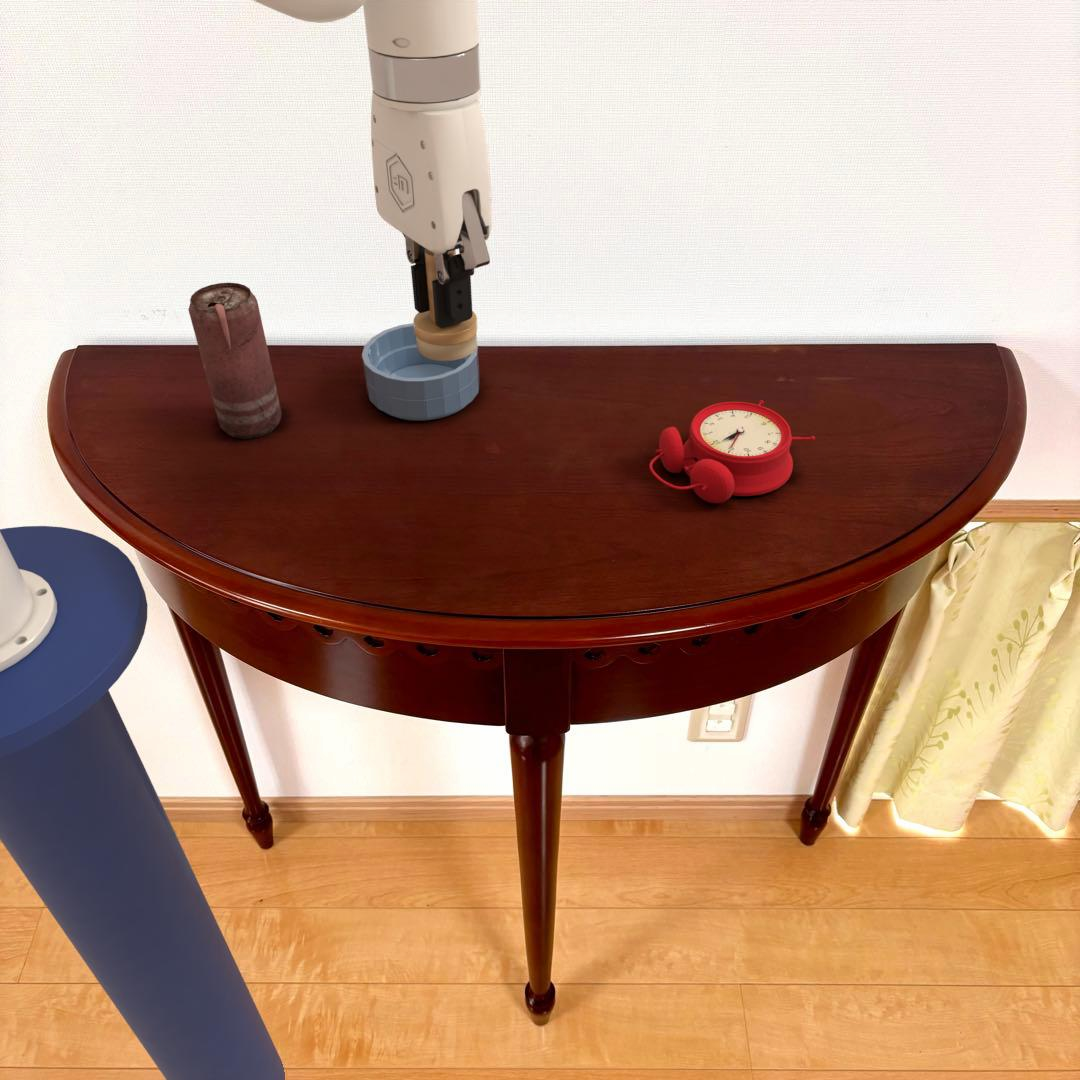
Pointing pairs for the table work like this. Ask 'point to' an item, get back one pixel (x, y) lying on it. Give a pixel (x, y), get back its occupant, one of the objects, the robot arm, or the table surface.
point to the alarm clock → (730, 451)
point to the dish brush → (448, 340)
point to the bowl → (416, 377)
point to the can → (235, 359)
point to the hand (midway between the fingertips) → (443, 313)
